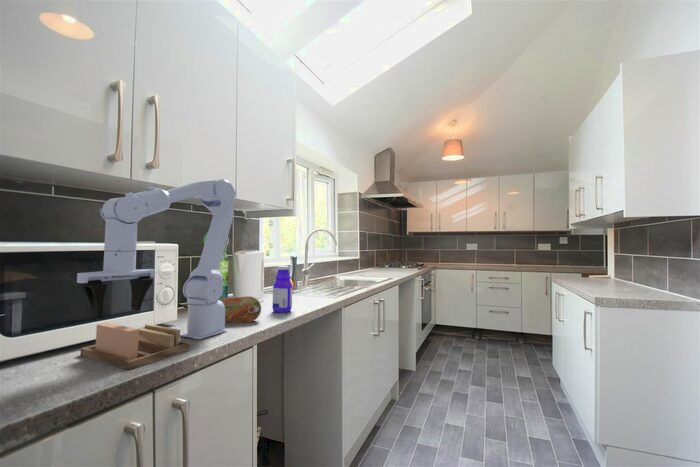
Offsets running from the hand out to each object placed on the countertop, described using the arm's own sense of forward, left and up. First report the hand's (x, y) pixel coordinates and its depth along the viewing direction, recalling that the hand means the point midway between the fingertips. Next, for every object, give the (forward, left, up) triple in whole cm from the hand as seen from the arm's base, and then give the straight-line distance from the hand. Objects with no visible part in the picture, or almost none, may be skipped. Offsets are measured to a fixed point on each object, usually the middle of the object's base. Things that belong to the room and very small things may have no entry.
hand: (117, 312), depth 67 cm
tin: (-36, -1, -10) cm, 37 cm away
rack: (-5, 0, -10) cm, 11 cm away
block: (0, 0, -10) cm, 10 cm away
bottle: (-56, +2, -10) cm, 57 cm away
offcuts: (-9, 0, -10) cm, 13 cm away
